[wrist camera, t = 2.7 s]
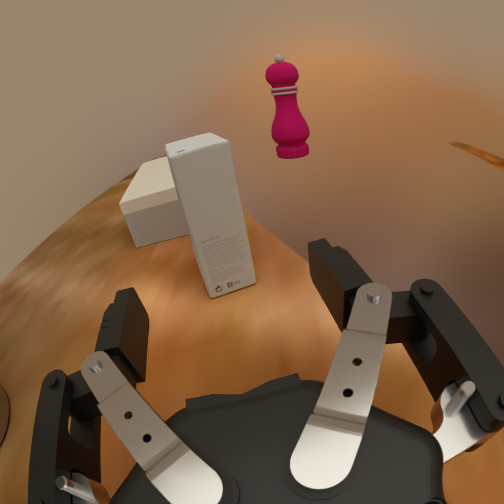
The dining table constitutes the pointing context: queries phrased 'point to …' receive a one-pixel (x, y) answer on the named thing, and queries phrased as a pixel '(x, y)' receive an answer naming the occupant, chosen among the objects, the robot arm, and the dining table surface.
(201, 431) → the robot arm
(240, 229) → the skincare box
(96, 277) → the dining table surface
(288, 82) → the pepper mill
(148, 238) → the shelf bench
